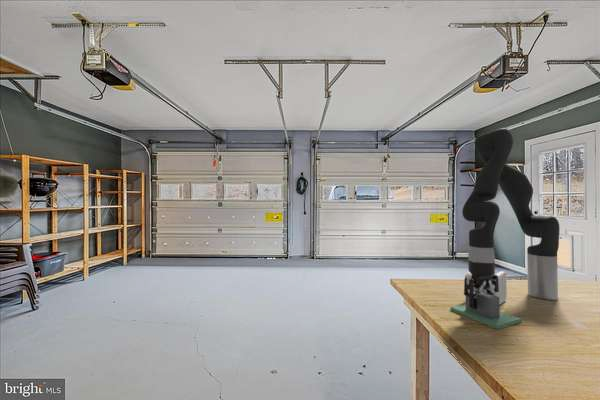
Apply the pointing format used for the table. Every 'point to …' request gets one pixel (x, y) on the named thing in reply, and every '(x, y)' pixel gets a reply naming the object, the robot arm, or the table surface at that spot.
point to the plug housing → (485, 305)
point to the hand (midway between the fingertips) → (481, 306)
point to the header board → (495, 322)
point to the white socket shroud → (501, 283)
